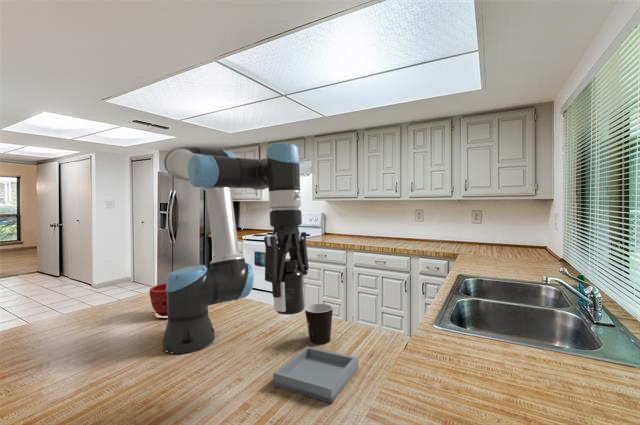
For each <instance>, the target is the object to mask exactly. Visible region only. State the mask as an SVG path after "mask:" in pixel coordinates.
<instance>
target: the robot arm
mask: <svg viewBox="0 0 640 425" xmlns="http://www.w3.org/2000/svg"><path fill="white" fill-rule="evenodd" d="M163 161H164V162H163V164H164V165H163V166H164V168H165V170H166V172H167V173H168V174H169V175H170V176H171V177H173V178H175V179H178V180H183V181H189V182H190V185H191V186H192V187H195V188H201V189H203V191H205V193H206V194H205V195H206V203H207V210H208V211H207V212H208V219H209V229H210V238H211V244H212V245H211V246H212V253H213V258H212V259H211V261H210V262H209V268H208V267H207V266H206V265H204V264H198V265H197V264H196V265H190V266H185V267H181V268H178V269H176V270H174V271H172V272H170V273H169V274H168V275H167V277H166V292H167V313H168V319H167V323H166V327H165V331H164V334H163V337H162V341H161V347H163V349H164V350H166V351H168V352H173V353H182V354H184V353H183V352H189V353H191V352H190V351H193V352H195V351H194V350H197V349H200V348H202V347H205V346H207V345H209V344H210V343H211V344H213V343H214V342H213V341H215V340H216V332H215V329H214V326H213V324H212V322H211V319H210V316H209V306H213V305H217V304H222V303H226V302H232V301H238V300H240V299H242V298H243V299H245V298H247V297H248V296H249V295H250V294H251V292H252V289H253V287H254V281H255V280H254V279H255V275H254V269H253V267H252V264H250V263H248V262H246V260H245V259H246V258H245V257H244V256H243V255H242V254H241V253H240V247H239V239H238V233H237V224H236V219H235V209H234V203H233V202H234V201H233V193H232V189H252V190H255V191H256V190H262V191H263V190H266V189H268V208H269V209H271V210H270V212H269V226H271V227H273V230H272V235H269V236H265V237H264V238H263V241H264V245H265V247H264V248H265V253H264V254H265V255H264V256H265V258H264V260H265V261H264V267H265V268H264V281H265V282H268V283H271V286H272V288H271V289H272V298H273V308H274V310H273V311H275V312H276V311H281V312H285V311H286V303H285V282H282V277H283V271H284V265H285V259H287V258H286V257H287V254H288V256H289V258H294V259H298V267H297V269H298V270H300V271H301V272H302V274H303V290H304V291H305V288H304V286H305V282H304V281H305V280H304V277H305V276H307V275H308V271H309V259H308V258H309V257H308V251H307V232H306V231H305V232H304V231H300V230H299V226H301V225H302V224H303V223H302V222H303V221H302V218H303V217H302V210H301V209H299V208H301V206H302V205H301V204H302V202H301V176H300V175H301V173H300V162H301V161H300V158H299V149H298V146H297V145H296V144H294V143H290V142H274V143H270V144H268V145H267V147H266V154H265V158H261V159H257V158H246V157H245V158H243V157H236V154H234V153H233V152H232V151H230V150H227V149H222V148H209V147H208V148H207V147H197V146H180V147H176V148H173V149H172V150H170V151H169V152H167V153H166V155H165V156H164V160H163ZM277 276H278V277H277ZM214 339H215V340H214ZM212 342H213V343H212ZM211 344H210V345H211ZM210 345H209V346H210ZM207 347H208V346H207ZM205 348H206V347H205ZM163 349H162V350H163ZM200 350H201V349H200ZM197 351H198V350H197Z"/></svg>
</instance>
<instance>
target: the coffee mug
mask: <svg viewBox="0 0 640 425" xmlns="http://www.w3.org/2000/svg"><path fill="white" fill-rule="evenodd" d="M333 308H334V307H333V306H332V305H331V304H328V303H313V304H308V305H306V306H304V311H305V312H304V313H305V318H306V324H307V332H308V338H309V339H308V340H309V342H310V343H311V344H313V345H316V346H317V345H319V346H320V345H321V346H322V345H325V344H328V343H330V342H331V336H332V323H333V322H332V321H333V311H334V310H333Z"/></svg>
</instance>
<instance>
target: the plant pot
mask: <svg viewBox="0 0 640 425" xmlns="http://www.w3.org/2000/svg"><path fill="white" fill-rule="evenodd" d="M149 298H150V303H151V307H152V308H153V310H154V312H155V311H156V313H158V314H159V315H161V316H168V313H167V292H166V283H165V282H164V283H160V284H157V285H154V286H153V287H151V288H149Z"/></svg>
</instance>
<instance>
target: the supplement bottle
mask: <svg viewBox="0 0 640 425" xmlns="http://www.w3.org/2000/svg"><path fill="white" fill-rule="evenodd" d="M297 267H298V259H294V258H290V257H289V258H286V259H285V265H284V271H283V277H282V282H285V303H286V311H285V312H281V311H275V312H276V313H278V314H279V315H295V314H299V313H301V312H303V311H304V310H305V289H304V290H303V277H304V275H303V274H302V272H301V271H300V270H298V269H297ZM277 277H278V276H277Z"/></svg>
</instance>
